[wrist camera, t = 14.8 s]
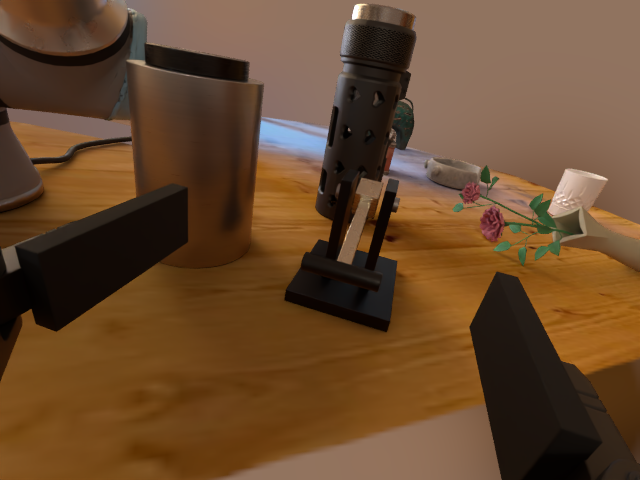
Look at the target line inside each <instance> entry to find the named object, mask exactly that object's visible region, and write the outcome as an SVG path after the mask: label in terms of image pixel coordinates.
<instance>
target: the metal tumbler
mask: <svg viewBox="0 0 640 480" xmlns="http://www.w3.org/2000/svg"><path fill="white" fill-rule="evenodd" d="M144 49H145V60H133V59H130V60H126V71H127V83H128V96H129V109H130V121H131V133H132V147H133V160H134V172H135V185H136V197H139V196H141V195H144V194H146V193H149V192H151V191H154V190H156V189H159V188H161V187H164V186H166V185H169V184H172V183H174V184H178V185H181V186H185V187H188V243H186V244H185V245H183V246H182V247H180V248H179V249H177V250H176V251H174V252H173V253H171V254H170V255H169V256H167V257H166V258H164V259H163V260H161V261H160V262H161V263H163V264H167V265H171V266H176V267H183V268H207V267H215V266H220V265H224V264H227V263H230V262H232V261H235V260H237V259H238V258H240V257H242V256H243V255H244V254H245V253H246V252H247V250H248V249H249V246H250V237H251V226H252V215H253V203H254V192H255V180H256V169H257V158H258V146H259V135H260V124H261V111H262V99H263V89H264V83H263V82H261V81H257V80H254V79H250V78H248V77H249V62H248V61H244V60H239V59H234V58H230V57H224V56H219V55H214V54H209V53H203V52H198V51H193V50H187V49H182V48H176V47H171V46H165V45H159V44H153V43H147V42H145V43H144Z"/></svg>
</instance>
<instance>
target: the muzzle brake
mask: <svg viewBox="0 0 640 480" xmlns="http://www.w3.org/2000/svg"><path fill="white" fill-rule="evenodd" d="M415 21H416V17H415V16H414V15H413V14H412V13H409V12H407V11H404V10H401V9H398V8H393V7H389V6H383V5H376V4H357V5H354V7H353V12H352V18H351V19H349V20H348V21H347V23H346V25H345V28H344V34H343V40H342V46H341V51H340V56H341V61H342V62H343V63H344V68H343V72H341V73H340V74H339V76H338V81H337V87H336V92H335V99H334V104H333V110H332V116H331V122H330V127H329V133H328V138H327V144H326V149H325V155H324V161H323V166H322V173H321V178H320V184H319V189H318V195H317V200H316V206H315V207H316V210H317V211H318V212H319V213H320V214H321V215H323V216H325V217H327V218H329V219H332V220H333V218H334V214H335V209H336V204H337V203H336V204H335V205H333V204H332V203H331V202H337V199H338V198H336V190H337V187H338V184H341V180H342V179H343V177H344V176H345V175H346V174H347V173H348V171H349V170H350V169H352V170H356V171H360V172H359V177H358V181H357V185H356V190H357V187H358V185H359V182H360V180H361V178H365V179H369V180H374V181H378V182H381V180H382V177H383V173H384V169H385V165H386V161H387V158H386V155H387V151H388V147H389V145H390V144H391V142H392V141H391V140H390V139H389V137H390V133H391V129H392V125H393V121H394V117H395V113H396V109H397V105H398V101H399V100H402V99H405V96H406V92H407V88H408V84H409V81H410V77H411V73H409V72H408V71H406V70H407V69H408V68H409V66H410V61H411V58H412V54H413V50H414V46H415V42H416V32H415V31H413V29H414V25H415ZM348 128H350V130H351V131H348ZM368 131H370V133H371V134H370V135H368ZM356 190H355V192H356ZM354 196H355V194H354ZM353 201H354V199H353ZM352 206H353V203H352ZM351 211H352V208H351ZM353 217H354V214H353V213H351V212H350V216H349V220H348V223H351V222H352V219H353ZM367 219H368V217H367Z"/></svg>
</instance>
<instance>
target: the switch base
mask: <svg viewBox="0 0 640 480" xmlns="http://www.w3.org/2000/svg"><path fill="white" fill-rule="evenodd" d="M359 172H360V171H356V170H352V169H350V170H349V171H348V173H347V174H346V175H345V176H344V177H343V179H342V180H341V184H338V187H337V190H336V198H338V199H337V204H336V209H335V214H334V218H333V223H332V228H331V233H330V238H329V242H327V241H323V240H318V242H317V243H316V245H315V246H314V248H313V249H312V251H311V252H310V253H312V254H316V255H320V256H323V257H327V258H330V259H334V260H337V259H338V256H339V254H340V251H341V249H342V246H343V242H344V238H345V234H346V229H347V225H348V220H349V216H350V212H351V207H352V203H353V199H354V194H355V190H356V185H357V181H358V177H359ZM398 184H399V181H398V180H394V179H389V181H388V184H387V187H386V190H385V194H384V198H383V201H382V205H381V209H380V212H379V216H378V220H377V223H376V227H375V231H374V234H373V238H372V242H371V245H370V249H369V253H366V252H363V251H359V250H356V253H355V256H354V259H353V262H352V265H355V266H358V267H362V268H365V269H369V270H372V271H376V272H379V273H382V274H383V276H382V280H381V284H380V288H379V291H378V292H375V291H371V290H368V289H365V288H361V287H358V286H354V285H351V284H348V283H344V282H341V281H337V280H334V279H331V278H327V277H324V276H320V275H317V274H314V273H310V272H307V271H303V270H301V268H300V269H299V271H298V272H297V274H296V275H295V277H294V278H293V280H292V281H291V283H290V284H289V286H288V287H287V289H286V293H285V301H288V302H291V303H295V304H298V305H301V306H304V307H307V308H311V309H314V310H317V311H320V312H324V313H327V314H330V315H333V316H336V317H340V318H343V319H346V320H349V321H352V322H356V323H359V324H362V325H365V326H368V327H372V328H375V329H378V330H381V331H384V332H387V329H388V326H389V323H390V318H391V310H392V302H393V293H394V285H395V276H396V268H397V261H395V260H392V259H388V258H384V257H381V256H379V253H380V249H381V246H382V242H383V239H384V236H385V232H386V229H387V225H388V222H389V218H390V215H391V212H395V213H396V212H397V209H398V205H399V202H400V198H396V194H397V189H398Z"/></svg>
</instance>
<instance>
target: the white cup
mask: <svg viewBox="0 0 640 480" xmlns="http://www.w3.org/2000/svg"><path fill="white" fill-rule="evenodd" d="M607 182H608V179H607V178H604V177H602V176H599V175H595V174H592V173H589V172H585V171H580V170H576V169H568V168H567V169H566V170H565V172H564V174H563V177H562V179H561V181H560V183H559V185H558V187H557V190H556V192H555V194H554V197H553V199H552V203H551V205H550V207H549V209H548V212H549V213H550V214H552V215H554V216H555V215H558V214H560V213H563V212H566V211H569V210H572V209H575V208H578V207H581V206H582V207H583V208H584V209H585V210H586V211H589V209H590V208H591V206H592V205H593V203H594V202H595V200H596V199H597V197H598V196H599V194H600V192H601V191H602V189H603V188H604V186H605V185H606V183H607Z"/></svg>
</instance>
